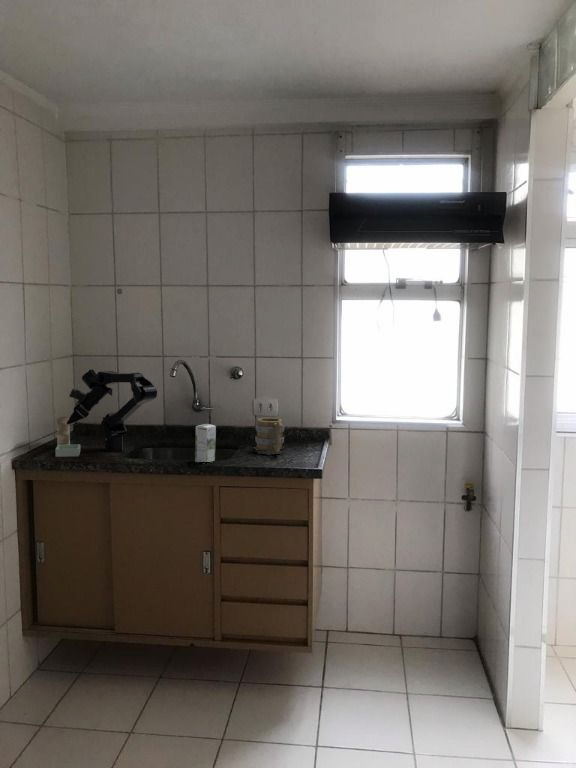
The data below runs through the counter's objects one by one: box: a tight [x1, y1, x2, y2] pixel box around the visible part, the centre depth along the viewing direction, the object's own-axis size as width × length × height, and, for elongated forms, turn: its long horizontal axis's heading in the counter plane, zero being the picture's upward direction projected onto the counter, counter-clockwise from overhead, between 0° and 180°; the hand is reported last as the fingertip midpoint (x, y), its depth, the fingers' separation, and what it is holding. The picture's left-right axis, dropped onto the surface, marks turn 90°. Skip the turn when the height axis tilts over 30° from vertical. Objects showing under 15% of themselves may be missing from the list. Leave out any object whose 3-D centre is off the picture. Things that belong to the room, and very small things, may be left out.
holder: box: [55, 443, 81, 458], centre depth 263 cm, size 9×9×3 cm
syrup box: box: [194, 423, 217, 463], centre depth 255 cm, size 6×6×14 cm
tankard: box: [253, 417, 285, 452], centre depth 273 cm, size 20×13×15 cm, turn 18°
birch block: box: [56, 416, 71, 447], centre depth 274 cm, size 4×4×13 cm
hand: (68, 421), depth 273 cm, fingers open, 9 cm apart
